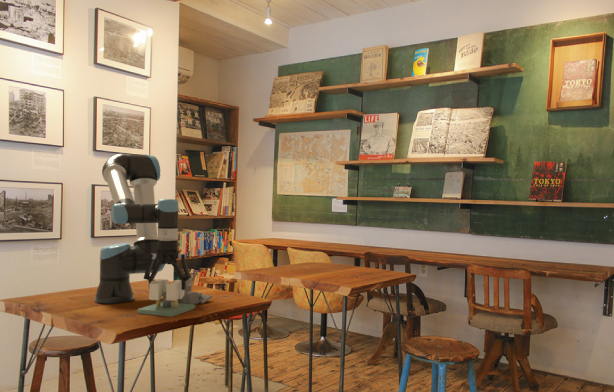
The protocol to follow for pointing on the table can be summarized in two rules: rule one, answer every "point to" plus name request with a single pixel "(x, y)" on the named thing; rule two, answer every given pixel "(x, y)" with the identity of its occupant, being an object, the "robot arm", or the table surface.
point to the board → (166, 308)
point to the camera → (193, 295)
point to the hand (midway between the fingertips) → (167, 298)
